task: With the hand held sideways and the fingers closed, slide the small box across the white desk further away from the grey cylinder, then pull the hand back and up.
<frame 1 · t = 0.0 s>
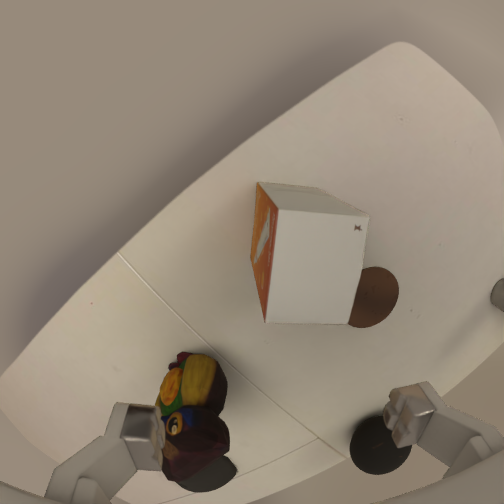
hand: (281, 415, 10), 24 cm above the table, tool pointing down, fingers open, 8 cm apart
computer mouse: (201, 467, 46), on the table
speaker: (370, 422, 45), on the table
grey cylinder: (498, 290, 39), on the table
small box: (282, 222, 33), on the table
coaster: (369, 298, 37), on the table
figurine: (193, 366, 38), on the table
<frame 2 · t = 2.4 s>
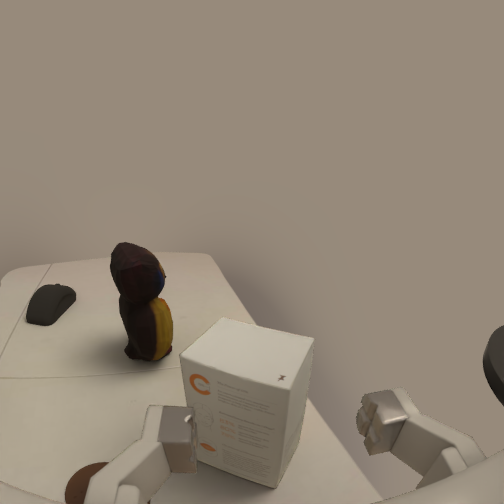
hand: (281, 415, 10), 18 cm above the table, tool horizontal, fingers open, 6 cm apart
computer mouse: (52, 310, 50), on the table
small box: (248, 453, 26), on the table
coaster: (106, 497, 19), on the table
figurine: (150, 354, 41), on the table
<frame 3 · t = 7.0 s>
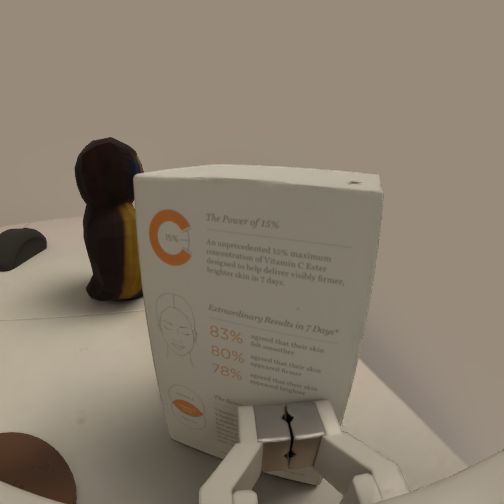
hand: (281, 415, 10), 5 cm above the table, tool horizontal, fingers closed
computer mouse: (17, 258, 39), on the table
small box: (261, 427, 16), on the table, touching gripper
coaster: (8, 490, 8), on the table
figurine: (121, 295, 30), on the table
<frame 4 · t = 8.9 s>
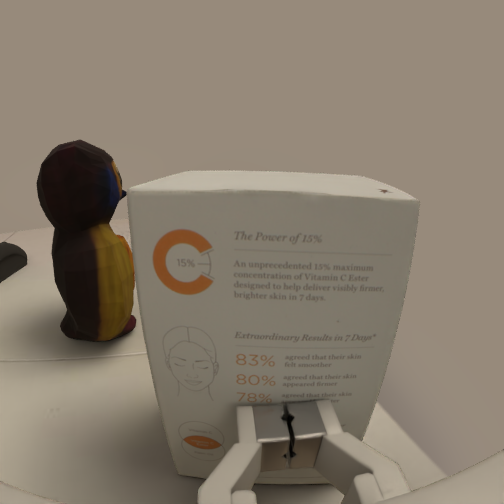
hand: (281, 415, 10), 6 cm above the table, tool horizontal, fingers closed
small box: (263, 440, 15), on the table, touching gripper
figurine: (102, 332, 24), on the table
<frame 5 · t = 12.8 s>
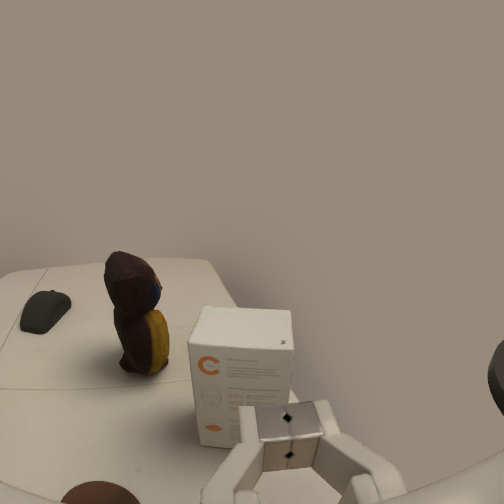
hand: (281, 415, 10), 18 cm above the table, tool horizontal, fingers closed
computer mouse: (47, 317, 48), on the table
small box: (242, 428, 30), on the table
figurine: (146, 366, 39), on the table
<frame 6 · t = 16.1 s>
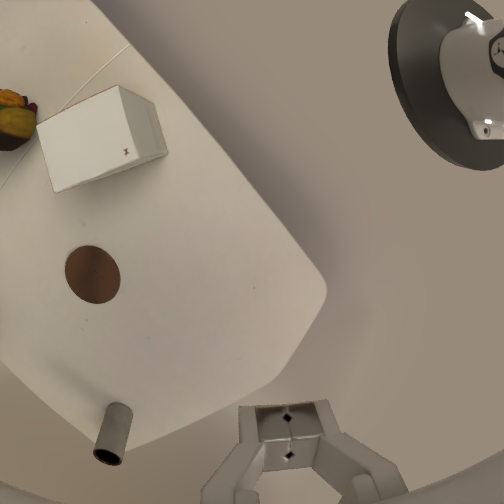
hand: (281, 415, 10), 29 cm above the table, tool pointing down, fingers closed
grey cylinder: (120, 410, 46), on the table
small box: (129, 139, 33), on the table
coaster: (92, 275, 38), on the table
figurine: (23, 119, 31), on the table
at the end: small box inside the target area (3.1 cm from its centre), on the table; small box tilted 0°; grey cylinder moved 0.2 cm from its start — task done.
